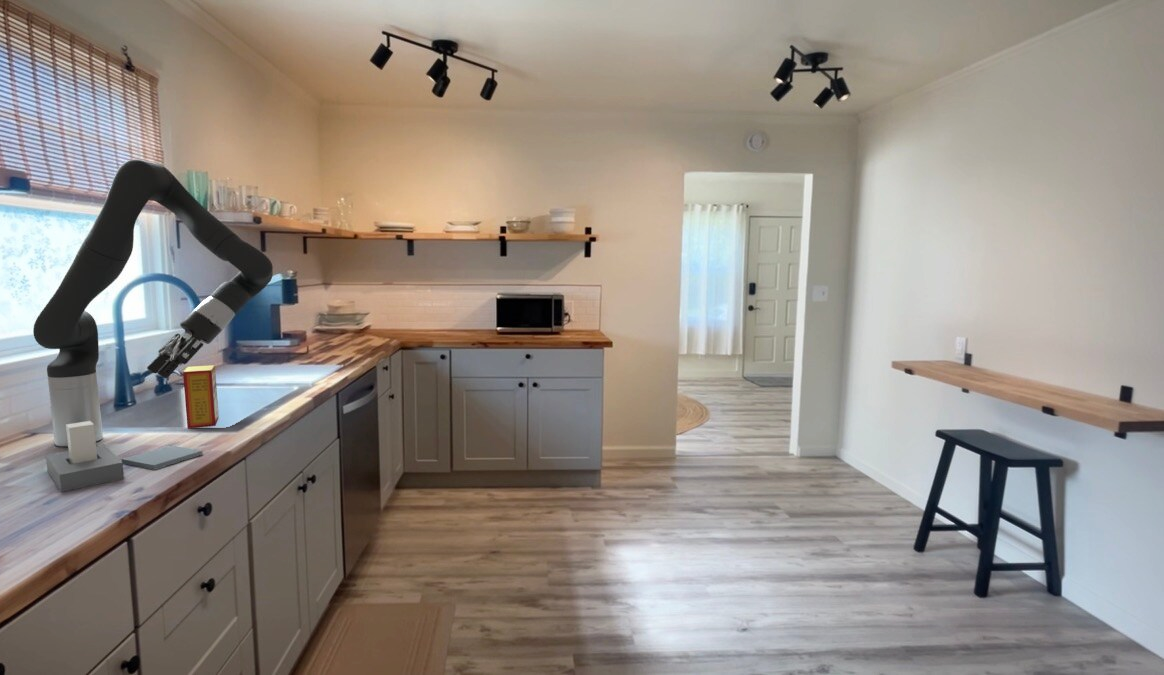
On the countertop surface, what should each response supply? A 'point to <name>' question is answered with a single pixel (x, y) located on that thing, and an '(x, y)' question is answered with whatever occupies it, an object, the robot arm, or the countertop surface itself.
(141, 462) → the mat
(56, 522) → the countertop surface
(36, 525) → the countertop surface
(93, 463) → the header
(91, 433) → the tall cream white pillar
